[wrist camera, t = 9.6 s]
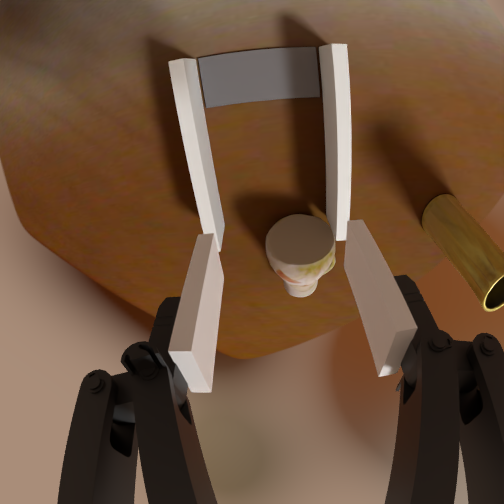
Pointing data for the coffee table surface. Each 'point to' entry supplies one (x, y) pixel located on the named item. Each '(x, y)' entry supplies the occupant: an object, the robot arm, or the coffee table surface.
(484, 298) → the vase
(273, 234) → the mug
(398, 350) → the robot arm
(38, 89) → the coffee table surface
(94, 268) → the coffee table surface
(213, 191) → the channel
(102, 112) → the coffee table surface
